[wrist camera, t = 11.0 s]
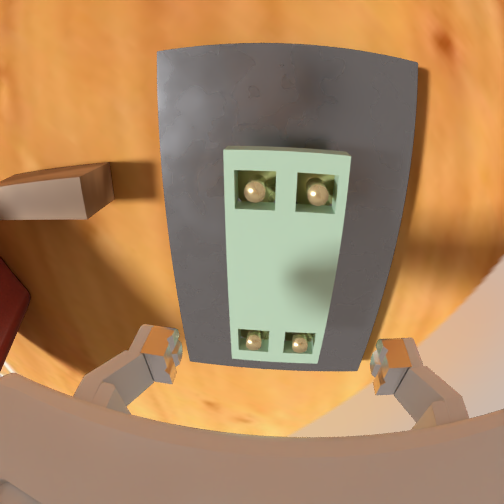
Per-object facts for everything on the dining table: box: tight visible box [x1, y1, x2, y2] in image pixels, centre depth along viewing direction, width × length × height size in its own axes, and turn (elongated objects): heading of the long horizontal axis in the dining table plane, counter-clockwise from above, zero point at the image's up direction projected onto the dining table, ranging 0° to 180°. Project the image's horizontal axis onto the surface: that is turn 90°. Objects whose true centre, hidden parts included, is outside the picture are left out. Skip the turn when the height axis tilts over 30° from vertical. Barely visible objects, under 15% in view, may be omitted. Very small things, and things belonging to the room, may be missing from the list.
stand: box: [0, 162, 114, 220], centre depth 20 cm, size 3×12×4 cm, turn 90°
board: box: [223, 146, 351, 364], centre depth 17 cm, size 14×6×1 cm, turn 0°
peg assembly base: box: [157, 43, 418, 371], centre depth 19 cm, size 26×16×6 cm, turn 0°
